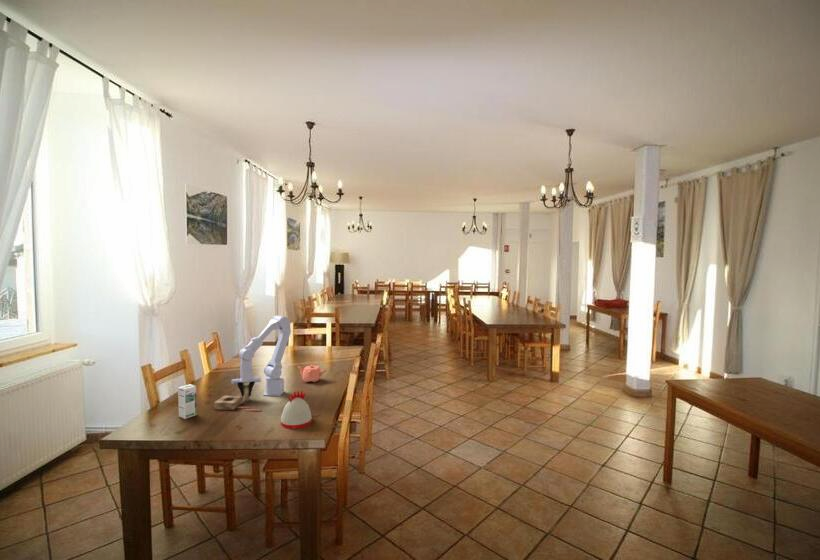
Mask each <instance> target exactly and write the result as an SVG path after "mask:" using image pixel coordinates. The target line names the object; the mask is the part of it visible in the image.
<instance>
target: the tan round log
mask: <svg viewBox="0 0 820 560" xmlns="http://www.w3.org/2000/svg"><path fill="white" fill-rule="evenodd" d="M248 401H250V396H249V383H247V384H246V383H245V384H244V385H243V402H248Z"/></svg>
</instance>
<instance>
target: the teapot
mask: <svg viewBox="0 0 820 560" xmlns="http://www.w3.org/2000/svg"><path fill="white" fill-rule="evenodd" d="M297 368H298V369H299V373H300V375H301V376H302V377H301V378H302V381H303V382H308V383H309V382H312V383H313V382H316V383H317V382H319V380H320V379H321V376H322V375H324V374H325V373H326V372H327V370H326V368H324V369H321V367H320V366H319V365H314V364H310V365H306V366H305V367H304V368H303V369H302V367H301V366H300V365H298V366H297Z"/></svg>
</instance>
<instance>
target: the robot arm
mask: <svg viewBox="0 0 820 560" xmlns="http://www.w3.org/2000/svg"><path fill="white" fill-rule="evenodd" d="M291 324H292V322H291V320H290V319H289V317H287V316H284V315H283V316H282V315H280V314H276V315H273V317H272V318H271V319H270V320H269V322H268V324H267V325H266V326H265V328H264V329H263V330H262V331H261V332H260V334H258V335H257V336H255V337H252V338H251V339H250V341H249V343H248V344H247V345H245V346H244V348H241V349H240V350H239V353H238V355H237V356H238V358H240V366H239V367H240V370H239V371H240V378H233V379H231V381H230V382H231V385H234V384H237V388H238V389H239V391H240V393H241V395H240V396H243V385H245V384H246V383H247V384H248V385H249V397H251V396H252V391H253V388H254V385H255V383H261V382H262V377H253V358H254V357H255V353H256V352H257V351H258V350H259V349H260V347H262V345H264V344H263V343H264V340H265V339H266V338H267V337H268V336H269V335H270V334H271V333H272V332H273V331H275V330H278V332H279V336H278V338H277V342H276V345H275V346H274V347H275V348H274V351H273V353H272V357H271V359H270V360H269V361H267V365H266V366H265V367H264V369H263V373H264V375H265V392H264V393H263V396H268V397H269V396H270V397H273V396H274V397H281V396H282V394H284V392H285V379H284V377H283V378H282V377H281V376H282V368H283V365H282V360H283V357H284V354H285V351H286V348H287V345H288V341H289V338H290V336H291V332H292V331H291Z"/></svg>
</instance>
